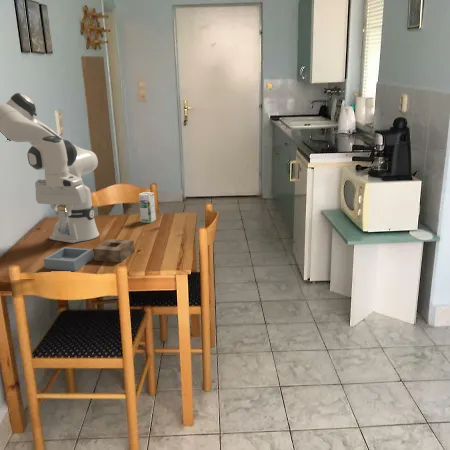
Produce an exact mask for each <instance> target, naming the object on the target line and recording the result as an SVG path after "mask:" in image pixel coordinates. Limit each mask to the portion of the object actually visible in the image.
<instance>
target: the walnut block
mask: <svg viewBox="0 0 450 450" xmlns="http://www.w3.org/2000/svg"><path fill="white" fill-rule="evenodd" d="M92 250H93V258H94V259H93V260H94V261H98V262H108V263H109V262H111V263H120V262H121V263H123V262H124V261H125V260H126V259H128V258H129V257H130V256H132V255H133V254H134V253H135V241H134V240H129V239H112V238H106V239H105V240H104V241H102V242H101V243H99V244H98V245H96V246H95V247H93V248H92ZM132 253H133V254H132ZM127 257H128V258H127ZM123 260H124V261H123Z"/></svg>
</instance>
